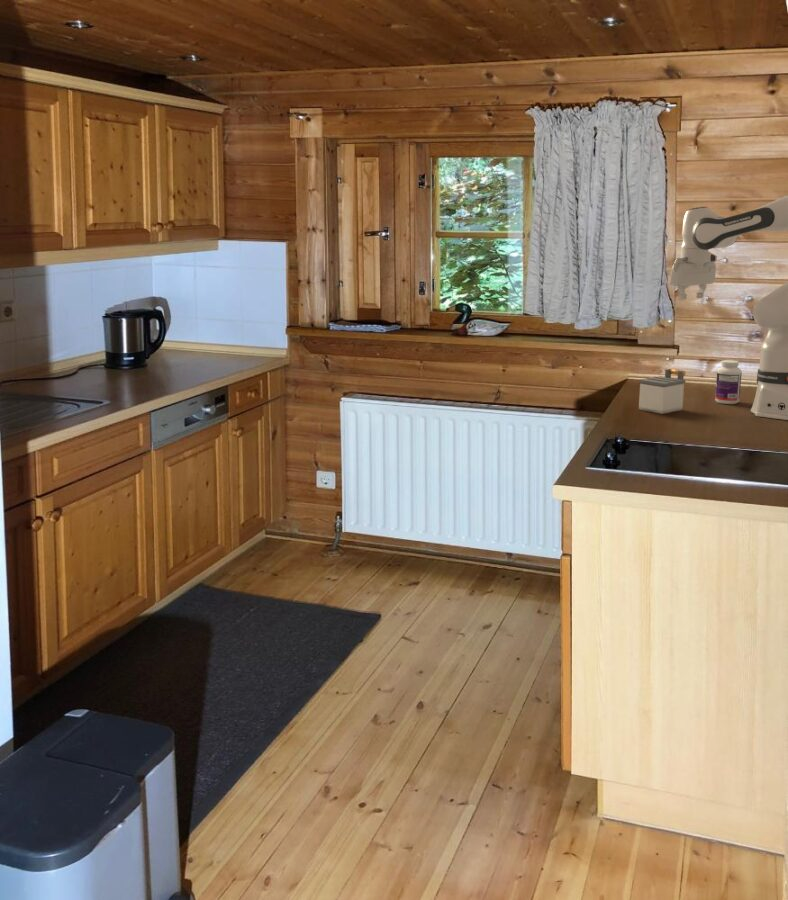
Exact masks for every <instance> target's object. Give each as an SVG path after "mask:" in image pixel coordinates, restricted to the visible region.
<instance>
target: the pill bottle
mask: <svg viewBox="0 0 788 900" xmlns="http://www.w3.org/2000/svg"><path fill="white" fill-rule="evenodd" d="M741 385H742V370H741V368H740V367H739V360H734V359H732V360H731V359H724V360H721V366H720V367H718V369H717V371H716V382H715V393H714V394H715V396H714V397H715V399H714V400H715V402H716V403H718V404H720V405H721V404H722V405H735V404H738V403H739V402H740V400H741V399H740V397H741Z"/></svg>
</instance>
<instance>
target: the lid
mask: <svg viewBox="0 0 788 900" xmlns="http://www.w3.org/2000/svg"><path fill="white" fill-rule="evenodd" d="M664 372H665V373H664V376H663V375H662V376H661V375H659V376H653V377H646V378H643V379H639V383H644V384H650V385H656V386H662V387H667V386H672V385H678V384H686V379H684V377H685V375H686V371H685V370H680V369H679V370H678V369H674V368H667V369H665V371H664ZM672 375H677V378H674V377H672Z"/></svg>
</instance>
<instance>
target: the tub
mask: <svg viewBox="0 0 788 900" xmlns="http://www.w3.org/2000/svg"><path fill="white" fill-rule="evenodd" d="M639 383H640V382H639ZM684 390H685V383H683V384H678V385H672V386H667V387H662V386H656V385H650V384H644V383H640V384H639V398H638V410H640V411H645V412H649V413H655V414H660V415H663V414H669V413H672V412H678V411H682V410H683V408H684V407H683V406H684V405H683V404H684Z"/></svg>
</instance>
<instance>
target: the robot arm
mask: <svg viewBox="0 0 788 900" xmlns="http://www.w3.org/2000/svg"><path fill="white" fill-rule="evenodd" d="M753 232H788V194H787V195H785V196H782V197H780V198H777V199H775V200H773V201H770V202H769V203H766V204H763V205H762V206H760V207H757V208H755V209H752V210H750V211H747V212H743V213H739V214H736V215H730V216H728V217H725V216H723V215H721V214H718V213H716V212H715V211H712V209H711V208H710V207H708V206H699V207H693V208H689V209H687V210H686V211H685V214H684V216H683V220H682V229H681V237H682V243H681V246H680V257H677V258H676V260H675V261H674V263H673V265H672V268H671V273H670V274H671V275H670V281H669V283H670V285H671V286H672V287H677V292H678V294H679V299H678V300H680V301H683V300H687V295H688V294H687V293H686V291H685V290H686V287H687V286H698V291H697V292H696V299H703V298H704V293H705V291H706V289H707V285H711V284H713V283H715V279H716V268H717V266H716V262H717V261H718V256H717V255H716V254H714V253H712V252H710V251H709V250H712V249H720V248H722V249H723V248H728V247H730V246H732V245H733V244H734V243H735V242H736V241H738V238H739V236H740V235H745V234H747V233H748V234H749V233H753ZM713 285H714V284H713ZM752 317H753V320H754V322H755V323H756V324H757V325H758V326H760V327H761V328H765V329H768V331H767V334H766V337H765V339H764V340H763V341H762V344H761V347H760V357H759V366H758V367H759V368H758V369H757V373H756V374H757V375H756V393H755V396H754V400H753V403H752V406H751V409H750V412H751V413H753V414H754V415H755V416H756V417H760V418H761V417H763V418H769V419H776V420H778V419H779V420H785V421H788V281H786V282H785V283H783V285H780V286H779V287H777V288H776V289H775V290H772V291H771V292H770V293H769V294H767V295H766V296H764V297H762V298H760V299H759V300H757V301H756V302H755V304H754V305H753V309H752Z"/></svg>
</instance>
